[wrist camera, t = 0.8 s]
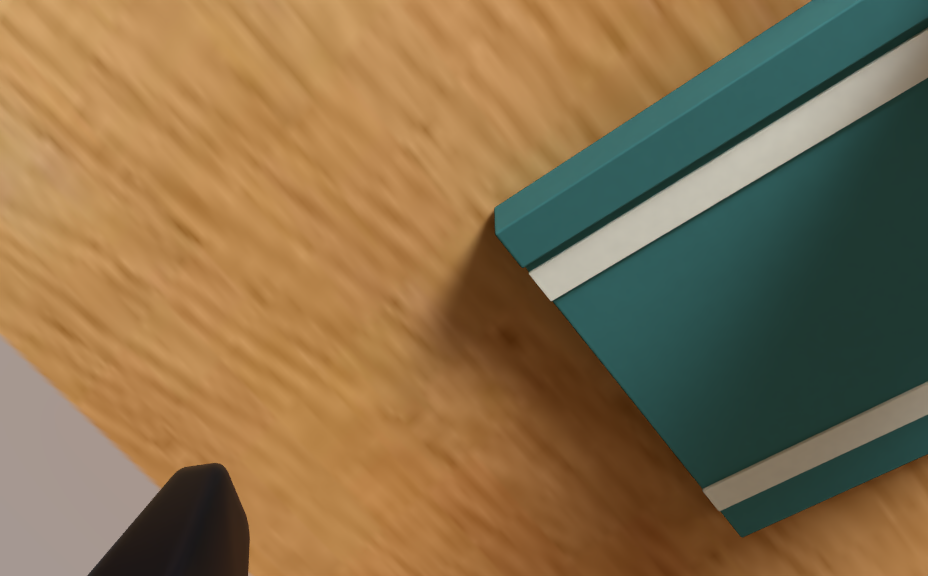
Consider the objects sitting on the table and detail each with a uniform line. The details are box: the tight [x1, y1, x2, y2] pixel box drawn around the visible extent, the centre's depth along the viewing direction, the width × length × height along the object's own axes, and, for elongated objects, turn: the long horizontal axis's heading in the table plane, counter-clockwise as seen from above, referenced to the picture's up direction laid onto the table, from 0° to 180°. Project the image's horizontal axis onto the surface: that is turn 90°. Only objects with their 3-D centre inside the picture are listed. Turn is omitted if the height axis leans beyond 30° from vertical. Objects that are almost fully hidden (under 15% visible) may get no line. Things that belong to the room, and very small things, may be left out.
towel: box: [494, 0, 928, 537], centre depth 22 cm, size 13×11×2 cm
